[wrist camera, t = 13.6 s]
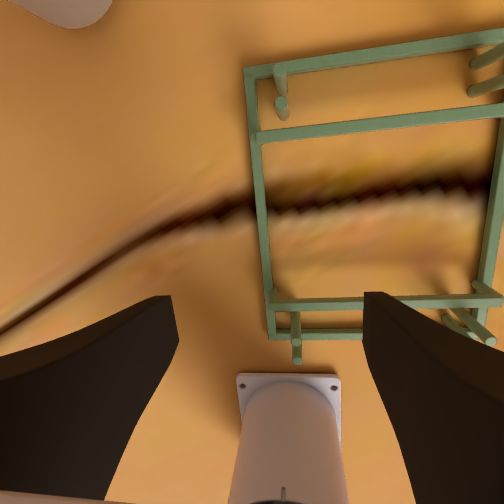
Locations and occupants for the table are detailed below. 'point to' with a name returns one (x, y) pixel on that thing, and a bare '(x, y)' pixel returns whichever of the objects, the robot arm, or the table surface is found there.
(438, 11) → the table surface
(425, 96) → the table surface
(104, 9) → the beverage can
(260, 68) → the rack
